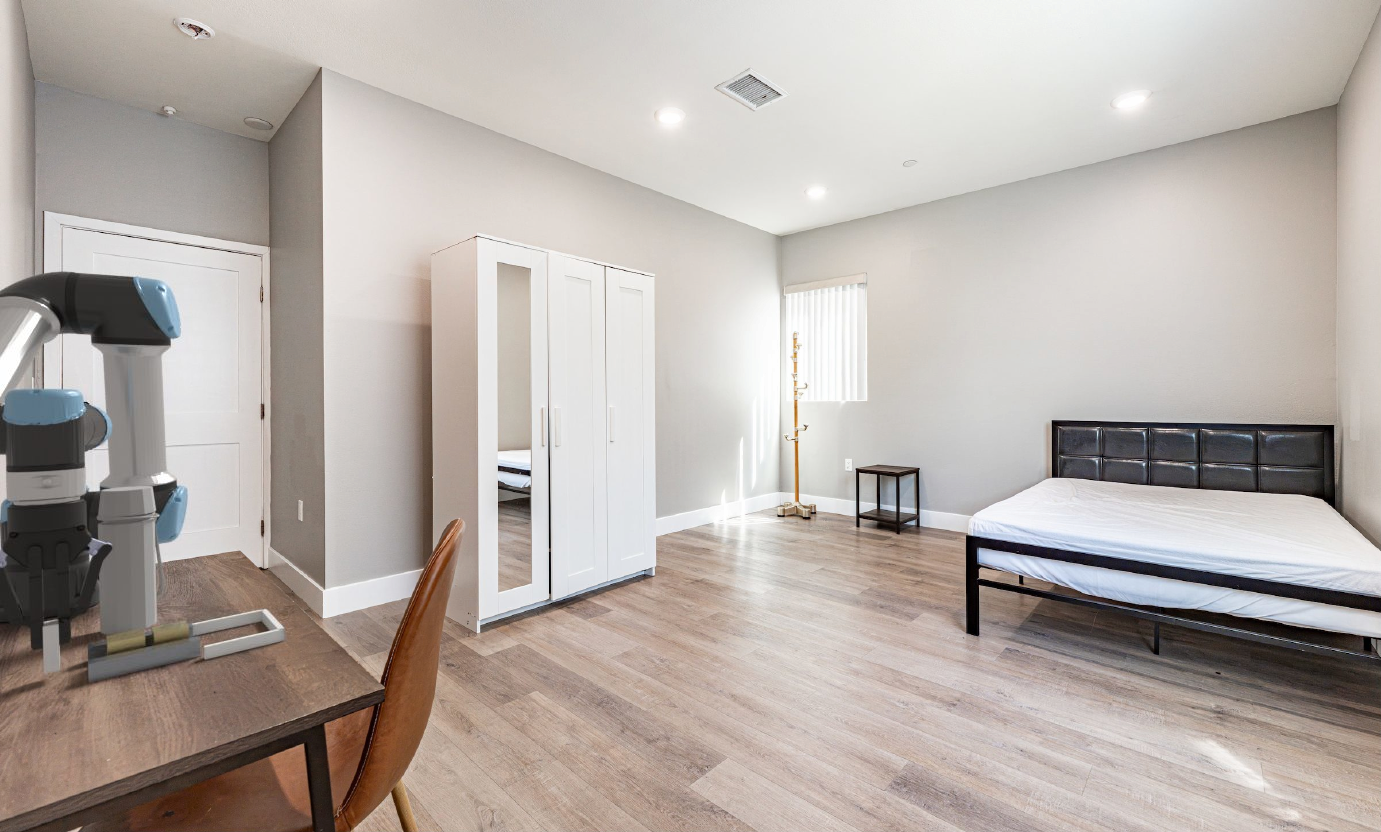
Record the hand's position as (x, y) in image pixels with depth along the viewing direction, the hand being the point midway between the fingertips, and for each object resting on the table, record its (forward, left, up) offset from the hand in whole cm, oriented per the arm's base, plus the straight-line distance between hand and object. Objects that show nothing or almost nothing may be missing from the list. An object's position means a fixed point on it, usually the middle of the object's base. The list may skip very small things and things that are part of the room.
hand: (52, 669), depth 84 cm
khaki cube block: (0, +13, -1) cm, 13 cm away
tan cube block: (0, +8, -1) cm, 8 cm away
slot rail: (0, +10, -3) cm, 10 cm away
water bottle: (-20, +10, -3) cm, 22 cm away
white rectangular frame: (0, +21, -3) cm, 21 cm away
